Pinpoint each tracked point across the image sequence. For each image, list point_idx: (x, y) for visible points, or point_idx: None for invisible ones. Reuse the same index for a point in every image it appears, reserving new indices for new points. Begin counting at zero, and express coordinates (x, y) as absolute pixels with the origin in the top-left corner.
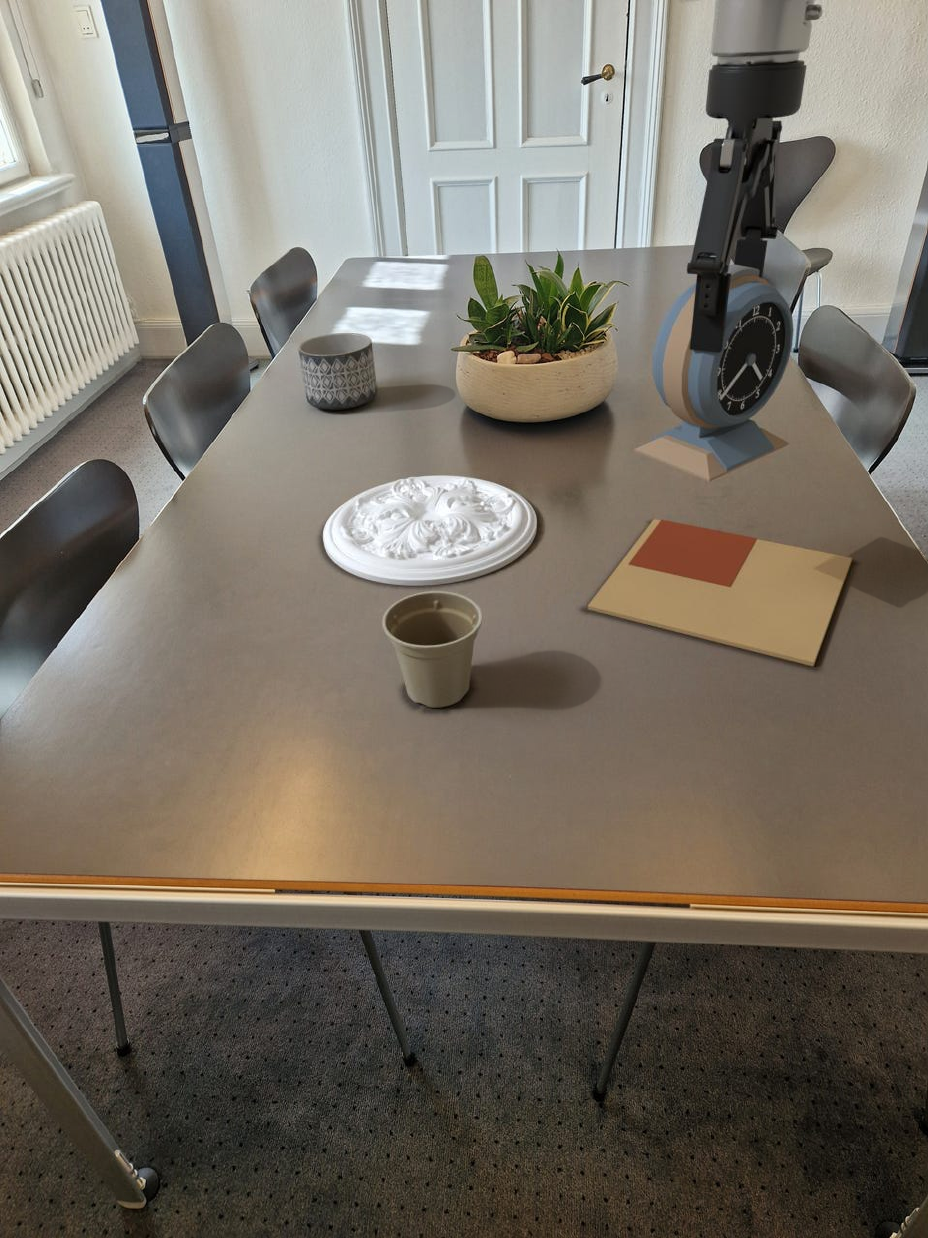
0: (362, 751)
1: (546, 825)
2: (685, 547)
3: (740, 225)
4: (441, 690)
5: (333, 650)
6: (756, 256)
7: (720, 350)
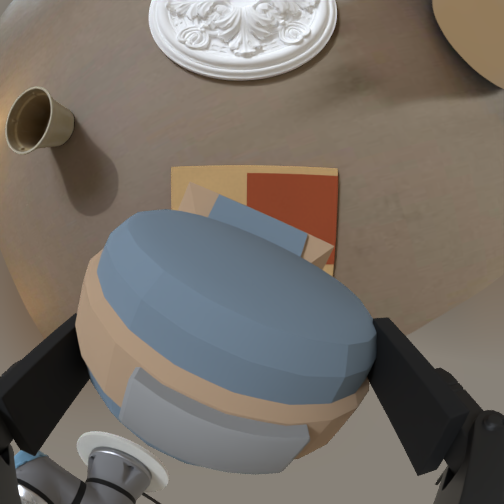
0: None
1: (15, 236)
2: (295, 211)
3: (470, 453)
4: (38, 141)
5: (73, 50)
6: (409, 437)
7: None
